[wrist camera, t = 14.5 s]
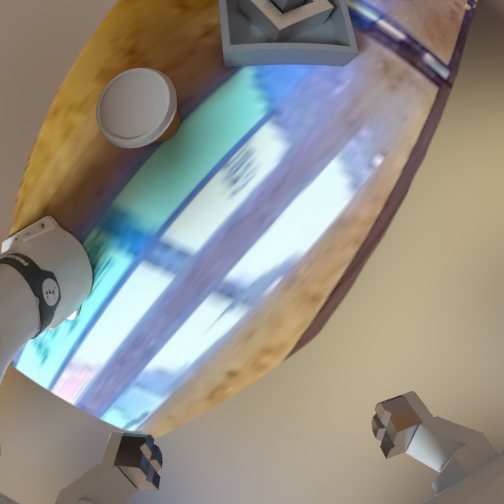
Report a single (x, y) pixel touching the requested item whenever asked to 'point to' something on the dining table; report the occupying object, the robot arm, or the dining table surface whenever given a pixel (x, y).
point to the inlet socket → (284, 18)
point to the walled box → (292, 51)
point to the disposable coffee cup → (138, 108)
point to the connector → (286, 5)
